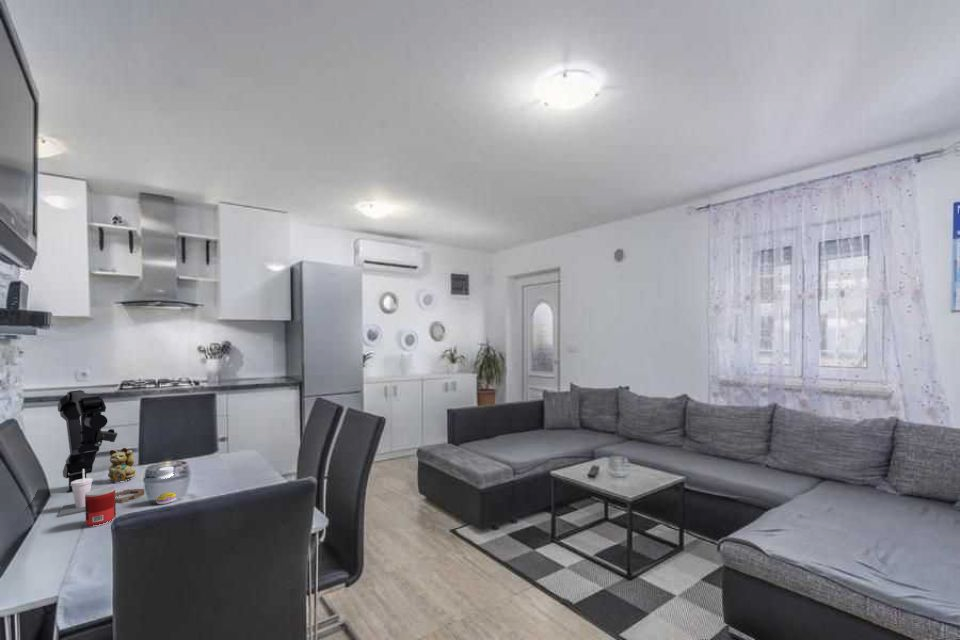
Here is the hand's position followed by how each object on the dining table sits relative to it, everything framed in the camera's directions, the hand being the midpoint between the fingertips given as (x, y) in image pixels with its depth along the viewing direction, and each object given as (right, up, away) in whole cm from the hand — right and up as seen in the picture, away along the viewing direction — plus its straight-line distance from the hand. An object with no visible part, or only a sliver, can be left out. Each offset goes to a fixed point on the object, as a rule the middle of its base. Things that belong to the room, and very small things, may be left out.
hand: (91, 465), depth 179 cm
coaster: (+7, -13, -12) cm, 18 cm away
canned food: (+27, -12, -26) cm, 40 cm away
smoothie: (+7, -12, -12) cm, 18 cm away
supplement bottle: (+38, -11, -9) cm, 41 cm away
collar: (+16, -12, -2) cm, 20 cm away
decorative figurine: (-3, -14, +20) cm, 24 cm away
